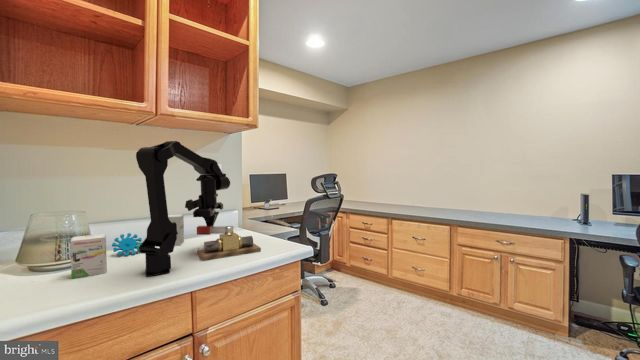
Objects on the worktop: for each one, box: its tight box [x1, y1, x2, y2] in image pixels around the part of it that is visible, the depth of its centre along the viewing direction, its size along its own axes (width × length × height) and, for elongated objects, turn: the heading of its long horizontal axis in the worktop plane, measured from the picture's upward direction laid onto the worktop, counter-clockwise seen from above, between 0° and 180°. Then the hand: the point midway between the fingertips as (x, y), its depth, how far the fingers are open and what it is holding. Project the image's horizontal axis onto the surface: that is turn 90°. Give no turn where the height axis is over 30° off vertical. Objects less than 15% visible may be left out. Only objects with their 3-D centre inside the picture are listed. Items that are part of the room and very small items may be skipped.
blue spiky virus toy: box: [111, 232, 143, 257], centre depth 112 cm, size 11×6×10 cm
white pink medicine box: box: [70, 233, 108, 279], centre depth 90 cm, size 8×5×12 cm, turn 125°
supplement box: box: [168, 213, 185, 247], centre depth 126 cm, size 7×7×13 cm
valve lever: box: [196, 225, 234, 236], centre depth 112 cm, size 14×3×3 cm, turn 91°
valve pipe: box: [203, 232, 254, 253], centre depth 112 cm, size 18×6×6 cm, turn 122°
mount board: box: [196, 242, 262, 262], centre depth 112 cm, size 22×10×2 cm, turn 122°
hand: (210, 230), depth 115 cm, fingers closed
